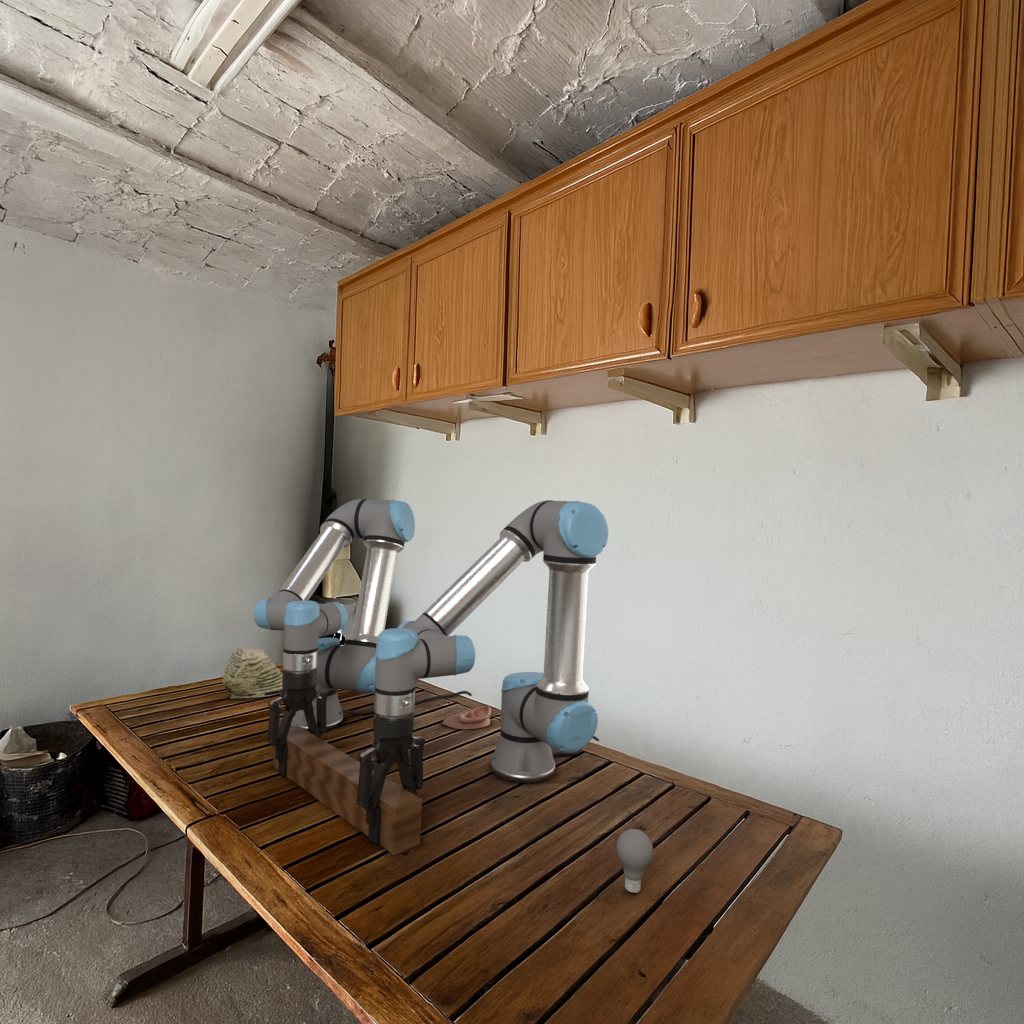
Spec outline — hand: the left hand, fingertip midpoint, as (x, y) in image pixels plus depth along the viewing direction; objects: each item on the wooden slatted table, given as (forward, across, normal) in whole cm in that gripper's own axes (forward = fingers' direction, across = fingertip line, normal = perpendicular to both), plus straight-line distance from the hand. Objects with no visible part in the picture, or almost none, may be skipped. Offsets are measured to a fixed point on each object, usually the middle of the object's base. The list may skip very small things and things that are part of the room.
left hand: (296, 769), depth 145 cm
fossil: (0, +16, +59) cm, 61 cm away
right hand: (0, 0, -37) cm, 37 cm away
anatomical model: (0, +51, -1) cm, 51 cm away
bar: (0, 0, -19) cm, 19 cm away
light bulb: (0, +21, -78) cm, 80 cm away
